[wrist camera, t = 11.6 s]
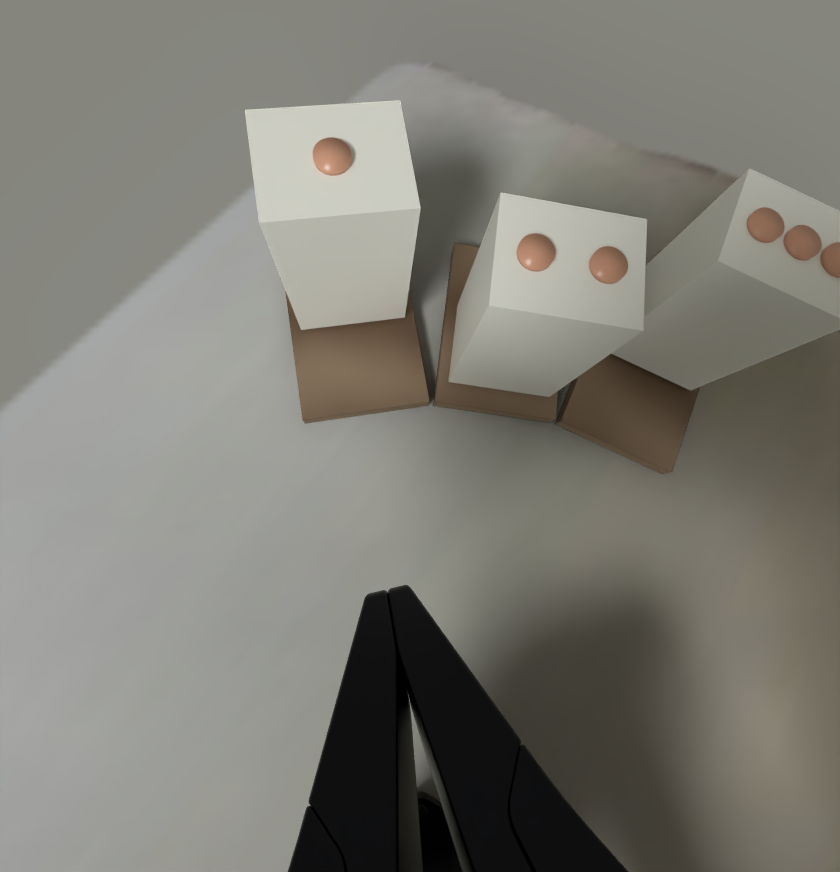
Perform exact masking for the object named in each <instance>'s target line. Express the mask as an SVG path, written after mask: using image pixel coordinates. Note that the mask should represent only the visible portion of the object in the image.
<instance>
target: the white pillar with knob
mask: <svg viewBox="0 0 840 872" xmlns="http://www.w3.org/2000/svg"><path fill="white" fill-rule="evenodd" d="M245 115H246V123H247V131H248V139H249V146H250V155H251V163H252V171H253V179H254V187H255V195H256V203H257V211H258V219H259V224H260V227H261V229H262V232H263V234H264V237H265V239H266V242H267V244H268V247H269V250H270V252H271V255H272V257H273V260H274V262H275V265H276V267H277V270H278V272H279V275H280V278H281V280H282V283H283V285H284V288H285V290H286V293H287V295H288V298H289V301H290V303H291V306H292V308H293V311H294V313H295V316H296V318H297V321H298V323H299V326H300V329H301V330H305V329H314V328H322V327H330V326H339V325H347V324H355V323H363V322H372V321H380V320H388V319H397V318H405V313H406V306H407V299H408V292H409V285H410V278H411V271H412V264H413V258H414V251H415V244H416V237H417V230H418V223H419V216H420V209H421V207H420V202H419V197H418V192H417V186H416V181H415V176H414V171H413V165H412V160H411V155H410V150H409V144H408V139H407V134H406V129H405V123H404V118H403V113H402V108H401V102H400V100H398V101H382V102H366V103H349V104H335V105H317V106H303V107H302V106H300V107H284V108H269V109H268V108H267V109H251V110H245Z"/></svg>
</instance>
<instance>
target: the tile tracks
mask: <svg viewBox="0 0 840 872" xmlns="http://www.w3.org/2000/svg"><path fill="white" fill-rule="evenodd" d="M479 248H480V247H475V246H469V245H463V244H457V243H454V247H453V250H452V256H451V264H450V272H449V281H448V289H447V297H446V305H445V313H444V321H443V329H442V337H441V345H440V353H439V361H438V369H437V378H436V386H435V394H434V402H433V406H440V407H447V408H453V409H460V410H467V411H474V412H481V413H487V414H494V415H501V416H508V417H515V418H522V419H528V420H535V421H542V422H549V423H550V422H552V421H554V420H556V413H557V399H558V391H557V392H556V393H554V394H553V395H551V396H550V397H545V396H538V395H532V394H525V393H519V392H512V391H505V390H499V389H492V388H485V387H479V386H472V385H465V384H459V383H452V382H448V381H449V372H450V364H451V356H452V347H453V339H454V330H455V322H456V313H457V305H458V303H459V300H460V297H461V295H462V292H463V290H464V287H465V284H466V282H467V279H468V276H469V274H470V271H471V269H472V266H473V263H474V261H475V258H476V256H477V253H478V250H479ZM285 291H286V290H285ZM286 298H287V306H288V313H289V321H290V328H291V336H292V343H293V351H294V359H295V366H296V374H297V381H298V389H299V396H300V404H301V411H302V419H303V421H304V422H305V423H311V422H318V421H325V420H332V419H339V418H346V417H353V416H359V415H366V414H373V413H380V412H387V411H394V410H401V409H407V408H414V407H421V406H428V404H429V396H428V390H427V385H426V379H425V374H424V368H423V363H422V357H421V352H420V346H419V340H418V335H417V329H416V324H415V318H414V313H413V307H412V302H411V296H410V291H409V292H408V299H407V306H406V313H405V318H397V319H388V320H380V321H372V322H363V323H355V324H347V325H339V326H330V327H322V328H314V329H305V330H301V329H300V326H299V323H298V321H297V318H296V316H295V313H294V311H293V308H292V306H291V303H290V301H289V298H288V295H287V293H286ZM699 388H700V387H698V388H696V389H693V390H691V391H690V390H688V389H686V388H684V387H682V386H680V385H678V384H675V383H673V382H671V381H669V380H667V379H665V378H663V377H660V376H658V375H656V374H654V373H652V372H650V371H648V370H645V369H643V368H641V367H639V366H637V365H635V364H633V363H630V362H628V361H626V360H624V359H622V358H620V357H617V356H615V355H613V354H610V355H608V356H607V357H605V358H604V359H603V360H601V361H600V362H598V363H597V364H595V365H594V366H593V367H591V368H590V369H588V370H587V371H586V372H584V373H583V374H581V375H580V376H578V377H577V378H576V379H574V380H573V381H572V383H571V385H570V388H569V390H568V393H567V395H566V398H565V400H564V403H563V405H562V408H561V411H560V413H559V416H558V418H557V421H556V423H555V424H556V425H558V426H560V427H562V428H564V429H567V430H569V431H571V432H573V433H575V434H577V435H579V436H582V437H584V438H586V439H588V440H590V441H592V442H595V443H597V444H599V445H601V446H603V447H605V448H608V449H610V450H612V451H614V452H616V453H618V454H621V455H623V456H625V457H627V458H629V459H631V460H633V461H636V462H638V463H640V464H642V465H644V466H646V467H649V468H651V469H653V470H655V471H657V472H659V473H662V474H663V473H670V472H672V471H673V468H674V465H675V461H676V458H677V455H678V452H679V449H680V446H681V443H682V440H683V437H684V434H685V431H686V428H687V425H688V422H689V419H690V415H691V412H692V409H693V406H694V403H695V400H696V397H697V394H698V391H699Z"/></svg>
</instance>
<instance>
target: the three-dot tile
mask: <svg viewBox="0 0 840 872" xmlns="http://www.w3.org/2000/svg"><path fill="white" fill-rule="evenodd" d="M838 330H840V211H839V210H837V209H834V208H833V207H830V206H828V205H826V204H824V203H822V202H820V201H818V200H816V199H814V198H811V197H809V196H807V195H805V194H803V193H801V192H799V191H797V190H795V189H792V188H790V187H788V186H786V185H784V184H782V183H780V182H778V181H775V180H773V179H771V178H769V177H767V176H765V175H762V174H761V173H759V172H757V171H754V170H752V169H750V168H749V169H748V170H747V171H746V172H745V173H744V174H743V175H742V176H740V177H739V178H738V179H737V180H736V181H735V182H734V183H733V184H732V185H731V186H730V187H729V188H728V189H727V190H726V191H724V192H723V193H722V194H721V195H720V196H719V197H718V198H717V199H716V200H715V201H714V202H713V203H712V204H711V205H710V206H709V207H707V208H706V209H705V210H704V211H703V212H702V213H701V214H700V215H699V216H698V217H697V218H696V219H695V220H694V221H693V222H692V223H690V224H689V225H688V226H687V227H686V228H685V229H684V230H683V231H682V232H681V233H680V234H679V235H678V236H677V237H676V238H674V239H673V240H672V241H671V242H670V243H669V244H668V245H667V246H666V247H665V248H664V249H663V250H662V251H661V252H660V253H659V254H657V255H656V256H655V257H654V258H653V259H652V260H651V261H650V262H649V263H648V264H647V265H646V267H645V297H644V326H643V331H642V332H641V333H639V334H638V335H637V336H635V337H634V338H632V339H631V340H630V341H628V342H627V343H625V344H624V345H622V346H621V347H620V348H618V349H617V350H615V351H614V352H612V353H611V354H613V355H615V356H617V357H620V358H622V359H624V360H626V361H628V362H630V363H633V364H635V365H637V366H639V367H641V368H643V369H645V370H648V371H650V372H652V373H654V374H656V375H658V376H660V377H663V378H665V379H667V380H669V381H671V382H673V383H675V384H678V385H680V386H682V387H684V388H686V389H688V390H690V391H691V390H693V389H696V388H698V387H701V386H703V385H706V384H708V383H711V382H713V381H715V380H718V379H720V378H723V377H725V376H728V375H730V374H733V373H735V372H738V371H740V370H742V369H745V368H747V367H750V366H752V365H755V364H757V363H760V362H762V361H764V360H767V359H769V358H772V357H774V356H777V355H779V354H782V353H784V352H786V351H789V350H791V349H794V348H796V347H799V346H801V345H804V344H806V343H808V342H811V341H813V340H816V339H818V338H821V337H823V336H826V335H828V334H830V333H833V332H835V331H838Z"/></svg>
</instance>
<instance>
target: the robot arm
mask: <svg viewBox="0 0 840 872" xmlns="http://www.w3.org/2000/svg"><path fill="white" fill-rule="evenodd" d="M408 695H409V697H408ZM409 699H410V703H411V707H412V711H413V714H414V718H415V721H416V724H417V728H418V731H419V734H420V737H421V740H422V744H423V747H424V750H425V753H426V756H427V760H428V763H429V766H430V769H431V772H432V776H433V779H434V782H435V785H436V788H437V792H438V795H439V798H440V801H441V802H440V801H438V800H436V799H435V798H433V797H431V796H430V795H428V794H426V793H423V792H420V793H417V787H416V774H415V760H414V747H413V734H412V721H411V711H410V703H409ZM309 804H310V805H311V806H308V807H307V808H306V811H305V815H304V818H303V822H302V825H301V829H300V833H299V836H298V840H297V843H296V846H295V850H294V853H293V856H292V859H291V863H290V866H289V869H288V872H628V871H627V870H626V869H625V868H624V866H623V865H622V864H621V863H620V862H619V861H618V860H617V859H616V857H615V856H614V855H613V854H612V853H611V852H610V851H609V850H608V849H607V847H606V846H605V845H604V844H603V843H602V842H601V841H600V840H599V838H598V837H597V836H596V835H595V834H594V833H593V832H592V830H591V829H590V828H589V827H588V826H587V825H586V823H585V822H584V821H583V820H582V819H581V817H580V816H579V815H578V814H577V813H576V812H575V810H574V809H573V808H572V807H571V806H570V804H569V803H568V802H567V801H566V800H565V799H564V797H563V796H562V795H561V793H560V792H559V791H558V789H557V788H556V787H555V785H554V784H553V783H552V782H551V780H550V779H549V778H548V776H547V775H546V774H545V772H544V771H543V770H542V768H541V767H540V766H539V764H538V763H537V762H536V760H535V759H534V758H533V756H532V755H531V753H530V752H529V751H528V749H527V748H526V746H525V745H523V744H522V745H521V740H520V739H519V737H518V736H517V734H516V733H515V732H514V730H513V729H512V727H511V726H510V725H509V723H508V722H507V721H506V719H505V718H504V716H503V715H502V714H501V712H500V711H499V709H498V708H497V707H496V705H495V704H494V703H493V701H492V700H491V698H490V697H489V696H488V694H487V693H486V691H485V690H484V689H483V687H482V686H481V685H480V683H479V682H478V680H477V679H476V678H475V676H474V675H473V673H472V672H471V671H470V669H469V668H468V667H467V665H466V664H465V662H464V661H463V660H462V658H461V657H460V655H459V654H458V653H457V651H456V650H455V649H454V647H453V646H452V644H451V643H450V642H449V640H448V639H447V637H446V636H445V635H444V633H443V632H442V631H441V629H440V628H439V626H438V625H437V624H436V622H435V621H434V619H433V618H432V617H431V615H430V614H429V613H428V611H427V610H426V608H425V607H424V606H423V604H422V603H421V601H420V600H419V599H418V597H417V596H416V595H415V593H414V592H413V590H412V589H411V588H410V587H409V586H408V585H403V586H399V587H395V588H391V589H389V591H388V593H387V591H385V590H382V591H378V592H374V593H370V594H368V595H366V597H365V599H364V602H363V606H362V610H361V613H360V617H359V621H358V624H357V628H356V631H355V635H354V639H353V642H352V646H351V649H350V653H349V657H348V660H347V664H346V667H345V671H344V675H343V678H342V682H341V686H340V689H339V693H338V696H337V700H336V704H335V707H334V711H333V714H332V718H331V722H330V725H329V729H328V732H327V736H326V740H325V743H324V747H323V751H322V754H321V758H320V761H319V765H318V769H317V772H316V776H315V779H314V783H313V787H312V790H311V794H310V797H309ZM421 804H422V805H425V806H426V809H425V811H423V812H418V806H419V805H421Z"/></svg>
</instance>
